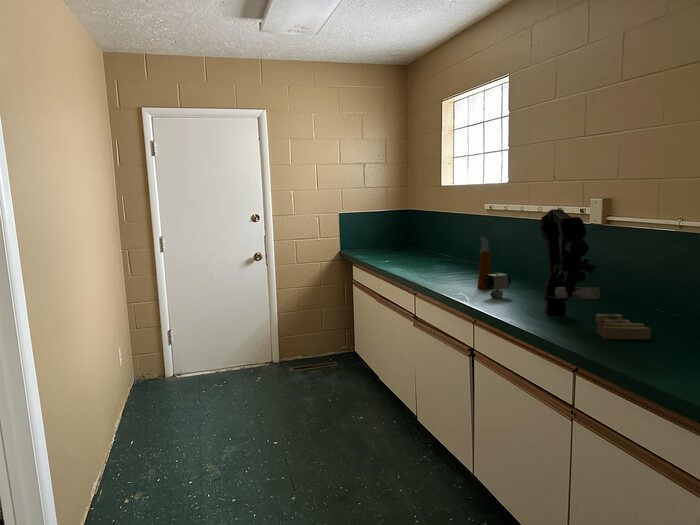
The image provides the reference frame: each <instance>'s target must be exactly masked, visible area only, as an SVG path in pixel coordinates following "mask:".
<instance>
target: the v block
mask: <svg viewBox="0 0 700 525" xmlns="http://www.w3.org/2000/svg"><path fill="white" fill-rule="evenodd" d="M596 327H597V328H596V333H597V334H598V335H600V336H601V337H602V338H603V339H604V340H605V339H608V340H609V339H610V340H611V339H612V340H616V339H617V340H651V336H652V335H651V331H652V329H651V328H650V327H649V326H645V324H644V323H641V322H639V323H638V322H637V323H636V322H631V323H597V326H596Z"/></svg>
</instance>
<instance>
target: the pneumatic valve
mask: <svg viewBox="0 0 700 525" xmlns="http://www.w3.org/2000/svg"><path fill="white" fill-rule="evenodd" d="M511 280H512V279H511V277H510V275H509V273H505V272H504V273H503V272H500V273H499V272H498V271H497V272H495V273H491V274H488V275H486V278H485V279H484V285H485V287H486V288H488V289H489V290H491V293H490V297H491V298H492V299H495V300H497V299H498V298H499V299H502V298H503V296H504V293H503V290H502V289H508V288H509V286H510V284H511Z"/></svg>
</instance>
